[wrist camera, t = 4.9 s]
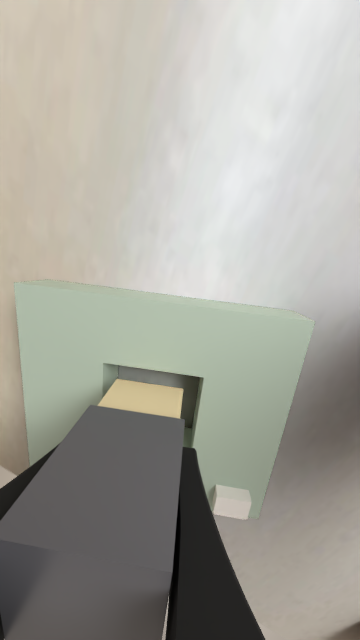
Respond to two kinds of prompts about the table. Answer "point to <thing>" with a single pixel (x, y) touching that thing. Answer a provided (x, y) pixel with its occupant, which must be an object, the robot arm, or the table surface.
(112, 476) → the plug
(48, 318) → the socket panel
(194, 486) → the robot arm
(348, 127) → the table surface
